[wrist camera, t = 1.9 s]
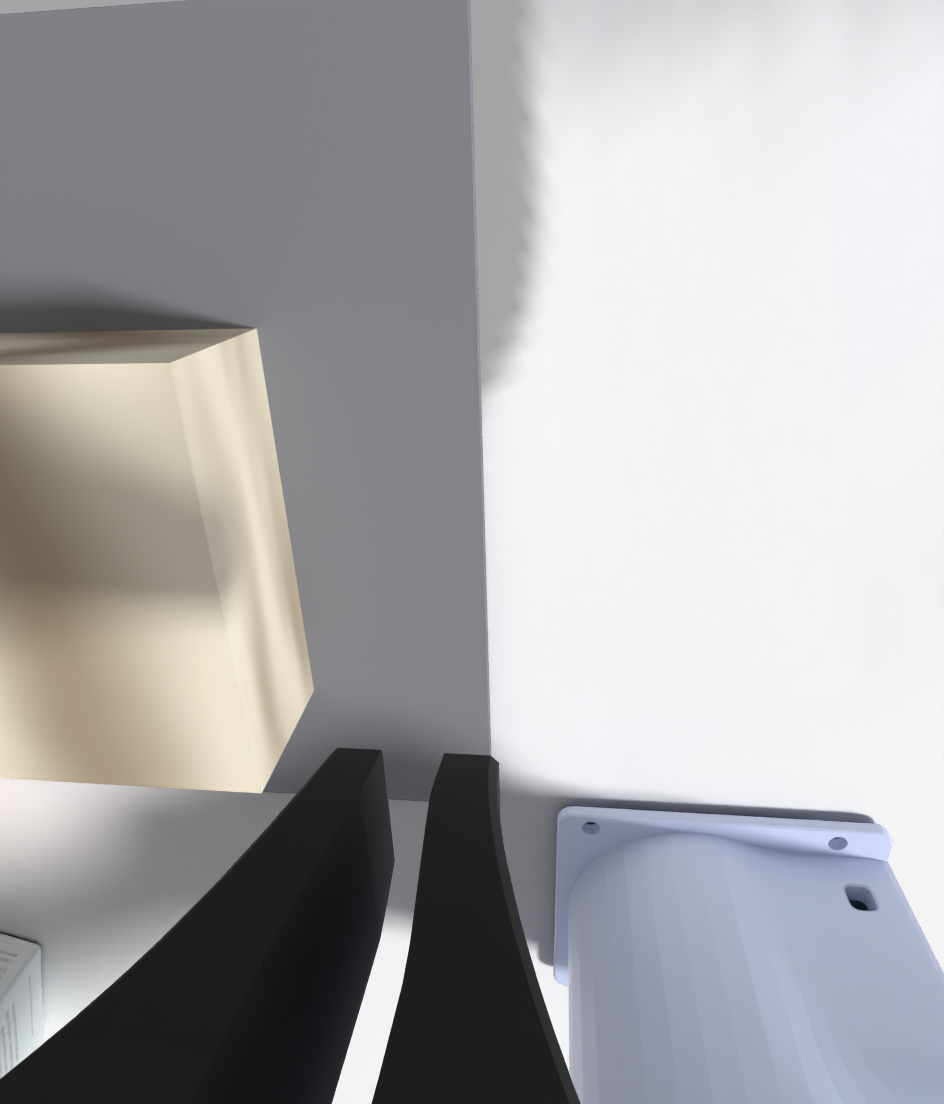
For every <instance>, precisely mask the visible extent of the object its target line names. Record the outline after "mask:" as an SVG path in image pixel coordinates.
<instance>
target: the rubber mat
mask: <svg viewBox="0 0 944 1104" xmlns="http://www.w3.org/2000/svg"><path fill="white" fill-rule="evenodd" d="M470 22H471V20H470V0H187V1H173V2H161V3H147V4H134V5H120V6H107V7H93V8H79V9H66V10H52V11H39V12H26V13H14V14H13V13H12V14H0V333H33V332H87V331H140V330H194V329H247V328H257V333H258V340H259V346H260V352H261V359H262V365H263V371H264V377H265V384H266V390H267V396H268V403H269V409H270V415H271V422H272V428H273V434H274V441H275V447H276V453H277V460H278V466H279V472H280V478H281V485H282V491H283V497H284V504H285V510H286V516H287V523H288V529H289V535H290V542H291V548H292V554H293V561H294V567H295V573H296V579H297V586H298V592H299V598H300V605H301V611H302V617H303V624H304V630H305V636H306V643H307V649H308V655H309V661H310V668H311V674H312V680H313V687H314V692H313V694H312V696H311V698H310V699H309V701H308V703H307V705H306V707H305V709H304V711H303V713H302V715H301V717H300V719H299V721H298V723H297V725H296V727H295V729H294V731H293V733H292V735H291V737H290V739H289V741H288V743H287V745H286V747H285V749H284V751H283V753H282V754H281V756H280V758H279V760H278V762H277V764H276V766H275V768H274V770H273V772H272V774H271V776H270V778H269V780H268V782H267V784H266V786H265V788H264V790H263V792H278V793H295V794H297V793H298V792H299V791H300V790H301V788H302V787H303V786H304V785H305V784H306V782H307V781H308V780H309V779H310V778H311V777H312V775H313V774H314V773H315V772H316V771H317V769H318V768H319V767H320V766H321V765H322V763H323V762H324V761H325V760H326V759H327V758H328V756H329V755H330V754H331V753H332V752H333V751H334V750H336V749H337V748H355V749H375V750H382V753H383V762H384V771H385V780H386V789H387V798H388V799H397V800H414V801H429V799H430V794H431V790H432V787H433V784H434V781H435V778H436V774H437V771H438V769H439V766H440V763H441V760H442V758H443V755H444V753H453V754H473V755H491V734H490V698H489V662H488V627H487V591H486V555H485V519H484V484H483V448H482V412H481V377H480V342H479V305H478V269H477V234H476V199H475V162H474V127H473V92H472V91H473V90H472V56H471V23H470Z"/></svg>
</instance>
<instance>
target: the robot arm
mask: <svg viewBox="0 0 944 1104" xmlns="http://www.w3.org/2000/svg"><path fill="white" fill-rule="evenodd" d="M587 822H594V823H596V824H592V825H589V824H586V823H587ZM835 837H839V838H837V839H833V838H835ZM892 846H893V841H892V839H891V837H890V835H889V833H888V831H887V830H886V828H884V827H883V826H881V825H878V824H871V823H854V822H837V821H820V820H803V819H786V818H768V817H751V816H734V815H717V814H700V813H683V812H666V811H648V810H631V809H614V808H597V807H580V806H571V807H566V808H564V809H562V810H561V811H560V812H559V814H558V817H557V851H556V891H555V931H554V979H555V980H556V981H557V982H558V983H560V984H562V985H565V986H569V1059H570V1074H569V1071H568V1069H567V1066H566V1063H565V1060H564V1057H563V1055H562V1052H561V1049H560V1046H559V1043H558V1041H557V1038H556V1035H555V1032H554V1029H553V1026H552V1023H551V1020H550V1017H549V1014H548V1011H547V1008H546V1005H545V1002H544V999H543V996H542V993H541V990H540V986H539V983H538V980H537V977H536V973H535V970H534V967H533V963H532V960H531V956H530V953H529V950H528V946H527V943H526V939H525V936H524V932H523V928H522V925H521V921H520V917H519V913H518V909H517V905H516V901H515V896H514V892H513V888H512V883H511V879H510V874H509V870H508V866H507V861H506V856H505V850H504V845H503V839H502V832H501V825H500V788H499V763H498V762H497V761H496V760H495V759H494V758H493V757H492V756H491V755H473V754H453V753H444V755H443V758H442V760H441V763H440V766H439V769H438V771H437V774H436V778H435V781H434V784H433V787H432V790H431V794H430V799H429V806H428V813H427V820H426V827H425V835H424V842H423V849H422V857H421V865H420V872H419V880H418V887H417V895H416V902H415V910H414V917H413V925H412V932H411V940H410V946H409V952H408V957H407V963H406V968H405V973H404V979H403V984H402V988H401V992H400V996H399V1000H398V1004H397V1008H396V1012H395V1016H394V1020H393V1024H392V1028H391V1032H390V1035H389V1039H388V1043H387V1047H386V1051H385V1055H384V1059H383V1063H382V1067H381V1071H380V1075H379V1079H378V1082H377V1086H376V1090H375V1093H374V1097H373V1101H372V1104H944V973H943V971H942V969H941V967H940V965H939V963H938V961H937V959H936V957H935V955H934V953H933V951H932V949H931V947H930V945H929V943H928V941H927V939H926V937H925V935H924V933H923V931H922V929H921V927H920V925H919V923H918V921H917V919H916V917H915V915H914V913H913V911H912V909H911V907H910V905H909V903H908V901H907V899H906V897H905V895H904V893H903V891H902V889H901V887H900V885H899V883H898V881H897V879H896V877H895V875H894V873H893V871H892V869H891V867H890V865H889V863H888V859H889V856H890V852H891V849H892ZM394 861H395V860H394V851H393V842H392V833H391V824H390V815H389V806H388V798H387V789H386V780H385V771H384V762H383V753H382V750H375V749H355V748H337V749H336V750H334V751H333V752H332V753H331V754H330V755H329V756H328V758H327V759H326V760H325V761H324V762H323V763H322V765H321V766H320V767H319V768H318V769H317V771H316V772H315V773H314V774H313V775H312V777H311V778H310V779H309V780H308V781H307V782H306V784H305V785H304V786H303V787H302V788H301V790H300V791H299V792H298V793H297V794H296V795H295V797H294V798H293V799H292V800H291V801H290V802H289V804H288V805H287V806H286V807H285V808H284V809H283V811H282V812H281V813H280V814H279V815H278V816H277V817H276V819H275V820H274V821H273V822H272V823H271V824H270V825H269V827H268V828H267V829H266V830H265V831H264V832H263V833H262V834H261V835H260V836H259V838H258V839H257V840H256V841H255V842H254V843H253V844H252V845H251V846H250V847H249V849H248V850H247V851H246V852H245V853H244V854H243V855H242V856H241V857H240V858H239V859H238V861H237V862H236V863H235V864H234V865H233V866H232V867H231V868H230V869H229V870H228V871H227V873H226V874H225V875H224V876H223V877H222V878H221V879H220V880H219V881H218V882H217V883H216V884H215V885H214V886H213V887H212V888H211V889H210V890H209V891H208V892H207V893H206V894H205V895H204V896H203V897H202V898H201V899H200V900H199V901H198V902H197V903H196V904H195V905H194V906H193V907H192V908H191V909H190V910H189V911H188V912H187V913H186V914H185V915H184V916H183V917H182V918H181V919H180V920H179V921H178V922H177V923H176V924H175V925H174V926H173V927H172V928H171V929H170V930H169V931H168V932H167V933H166V934H165V935H164V936H163V937H162V938H161V939H160V940H159V941H158V942H157V943H156V944H155V945H154V946H153V947H152V948H151V949H150V950H149V951H148V952H147V953H146V954H145V955H143V956H142V957H141V958H140V959H139V960H138V961H137V962H136V963H135V964H134V965H133V966H132V967H131V968H130V969H128V970H127V971H126V972H125V973H124V974H123V975H122V976H121V977H120V978H119V979H118V980H116V981H115V982H114V983H113V984H112V985H111V986H110V987H109V988H108V989H106V990H105V991H104V992H103V993H102V994H101V995H100V996H98V997H97V998H96V999H95V1000H94V1001H93V1002H92V1003H90V1004H89V1005H88V1006H87V1007H86V1008H85V1009H84V1010H82V1011H81V1012H80V1013H79V1014H78V1015H77V1016H76V1017H75V1018H73V1019H72V1020H71V1021H70V1022H69V1023H67V1024H66V1025H65V1026H64V1027H63V1028H62V1029H60V1030H59V1031H58V1032H57V1033H56V1034H54V1035H53V1036H52V1037H51V1038H49V1039H48V1040H47V1041H46V1042H45V1043H43V1044H42V1045H41V1046H40V1047H38V1048H37V1049H36V1050H35V1051H34V1052H32V1053H31V1054H30V1055H29V1056H27V1057H26V1058H25V1059H24V1060H23V1061H21V1062H20V1063H19V1064H18V1065H17V1066H15V1067H14V1068H13V1069H12V1070H10V1071H9V1072H8V1073H7V1074H6V1075H4V1076H3V1077H2V1078H1V1079H0V1104H332V1101H333V1097H334V1094H335V1090H336V1087H337V1084H338V1080H339V1077H340V1074H341V1070H342V1067H343V1064H344V1060H345V1057H346V1053H347V1050H348V1047H349V1043H350V1040H351V1037H352V1033H353V1030H354V1027H355V1023H356V1020H357V1017H358V1013H359V1010H360V1006H361V1003H362V1000H363V996H364V993H365V989H366V986H367V983H368V979H369V976H370V972H371V969H372V966H373V962H374V959H375V955H376V952H377V948H378V945H379V941H380V937H381V932H382V927H383V922H384V916H385V911H386V906H387V901H388V895H389V889H390V884H391V878H392V872H393V867H394Z"/></svg>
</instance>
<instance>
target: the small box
mask: <svg viewBox="0 0 944 1104" xmlns="http://www.w3.org/2000/svg"><path fill="white" fill-rule="evenodd" d="M42 1044H43V1002H42V974H41V947H40V946H39V945H38V944H35V943H31V942H28V941H25V940H22V939H18V938H15V937H11V936H8V935H4V934H0V1079H1V1078H2V1077H3V1076H4V1075H6V1074H7V1073H8V1072H9V1071H10V1070H12V1069H13V1068H14V1067H15V1066H17V1065H18V1064H19V1063H20V1062H21V1061H23V1060H24V1059H25V1058H26V1057H27V1056H29V1055H30V1054H31V1053H32V1052H34V1051H35V1050H36V1049H37V1048H38V1047H40V1046H41V1045H42Z"/></svg>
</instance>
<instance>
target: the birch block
mask: <svg viewBox="0 0 944 1104" xmlns="http://www.w3.org/2000/svg"><path fill="white" fill-rule="evenodd" d="M313 692H314V687H313V680H312V674H311V668H310V661H309V655H308V649H307V643H306V636H305V630H304V624H303V617H302V611H301V605H300V598H299V592H298V586H297V579H296V573H295V567H294V561H293V554H292V548H291V542H290V535H289V529H288V523H287V516H286V510H285V504H284V497H283V491H282V485H281V478H280V472H279V466H278V460H277V453H276V447H275V441H274V434H273V428H272V422H271V415H270V409H269V403H268V396H267V390H266V384H265V377H264V371H263V365H262V359H261V352H260V346H259V340H258V333H257V328H247V329H194V330H140V331H87V332H33V333H0V778H10V779H27V780H44V781H61V782H78V783H94V784H111V785H128V786H145V787H162V788H179V789H196V790H213V791H229V792H246V793H262V792H263V790H264V788H265V786H266V784H267V782H268V780H269V778H270V776H271V774H272V772H273V770H274V768H275V766H276V764H277V762H278V760H279V758H280V756H281V754H282V753H283V751H284V749H285V747H286V745H287V743H288V741H289V739H290V737H291V735H292V733H293V731H294V729H295V727H296V725H297V723H298V721H299V719H300V717H301V715H302V713H303V711H304V709H305V707H306V705H307V703H308V701H309V699H310V698H311V696H312V694H313Z"/></svg>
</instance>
